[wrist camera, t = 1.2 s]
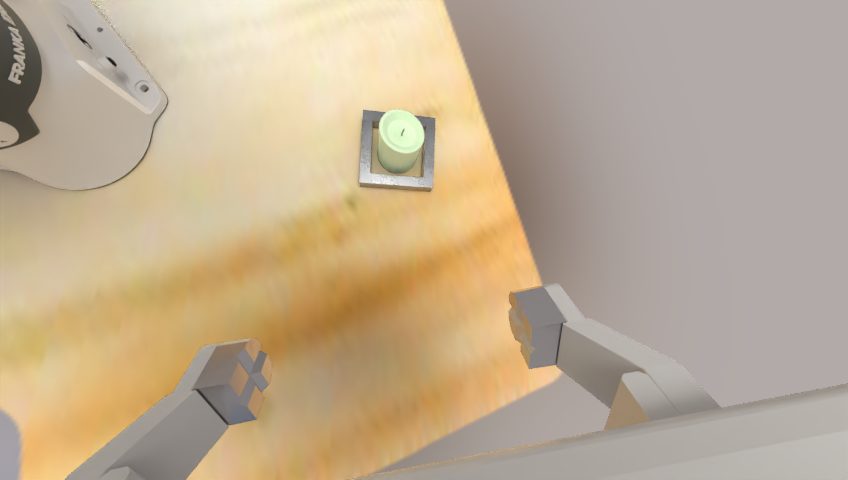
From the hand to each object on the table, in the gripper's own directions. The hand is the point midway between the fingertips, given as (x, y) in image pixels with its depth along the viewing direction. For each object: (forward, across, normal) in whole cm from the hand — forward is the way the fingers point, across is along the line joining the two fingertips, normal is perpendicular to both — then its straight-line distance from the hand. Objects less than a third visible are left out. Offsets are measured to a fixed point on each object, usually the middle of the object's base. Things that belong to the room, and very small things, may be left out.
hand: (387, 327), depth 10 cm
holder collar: (+33, -1, +4) cm, 33 cm away
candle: (+33, -1, +4) cm, 34 cm away
